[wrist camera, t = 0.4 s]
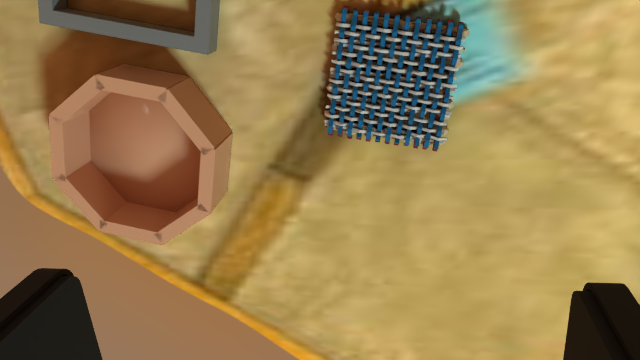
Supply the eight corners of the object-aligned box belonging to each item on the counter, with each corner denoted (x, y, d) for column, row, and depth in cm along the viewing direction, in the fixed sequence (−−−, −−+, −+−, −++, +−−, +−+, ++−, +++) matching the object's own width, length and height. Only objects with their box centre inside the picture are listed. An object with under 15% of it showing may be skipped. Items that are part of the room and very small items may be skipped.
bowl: (77, 54, 46) (45, 64, 42) (236, 85, 44) (219, 98, 40) (83, 200, 52) (55, 221, 47) (223, 231, 50) (207, 255, 46)
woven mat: (322, 131, 45) (319, 138, 44) (337, 3, 41) (333, 6, 39) (443, 149, 44) (444, 158, 43) (471, 20, 40) (474, 24, 38)
